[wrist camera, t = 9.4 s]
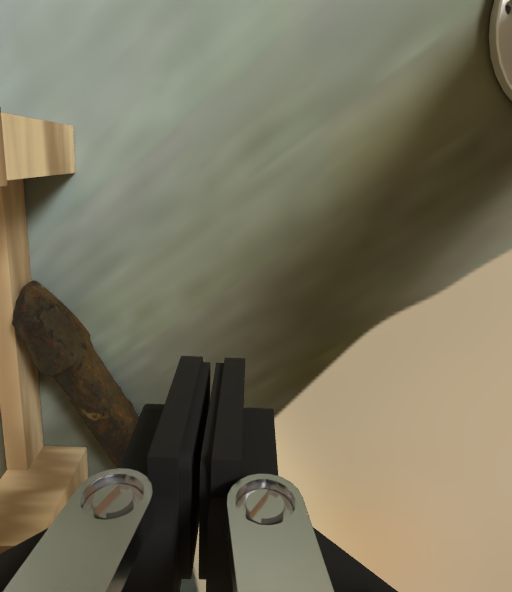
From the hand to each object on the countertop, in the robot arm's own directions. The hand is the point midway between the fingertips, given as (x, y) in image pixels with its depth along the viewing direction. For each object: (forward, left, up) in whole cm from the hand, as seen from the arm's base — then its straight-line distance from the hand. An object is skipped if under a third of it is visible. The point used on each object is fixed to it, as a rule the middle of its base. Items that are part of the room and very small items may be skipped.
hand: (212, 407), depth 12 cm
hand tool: (+10, +12, -22) cm, 27 cm away
